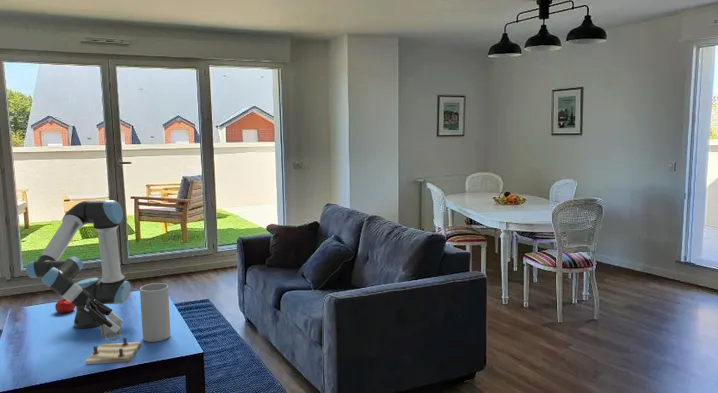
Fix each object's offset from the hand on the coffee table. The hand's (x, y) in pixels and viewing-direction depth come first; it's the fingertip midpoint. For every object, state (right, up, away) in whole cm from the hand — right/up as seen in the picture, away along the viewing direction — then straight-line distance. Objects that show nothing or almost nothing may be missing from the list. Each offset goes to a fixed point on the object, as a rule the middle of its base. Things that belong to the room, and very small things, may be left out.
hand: (119, 326), depth 241 cm
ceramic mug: (-2, -4, -2) cm, 5 cm away
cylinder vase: (+9, -10, +20) cm, 24 cm away
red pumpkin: (-56, -6, +61) cm, 83 cm away
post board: (-3, -13, +1) cm, 13 cm away
